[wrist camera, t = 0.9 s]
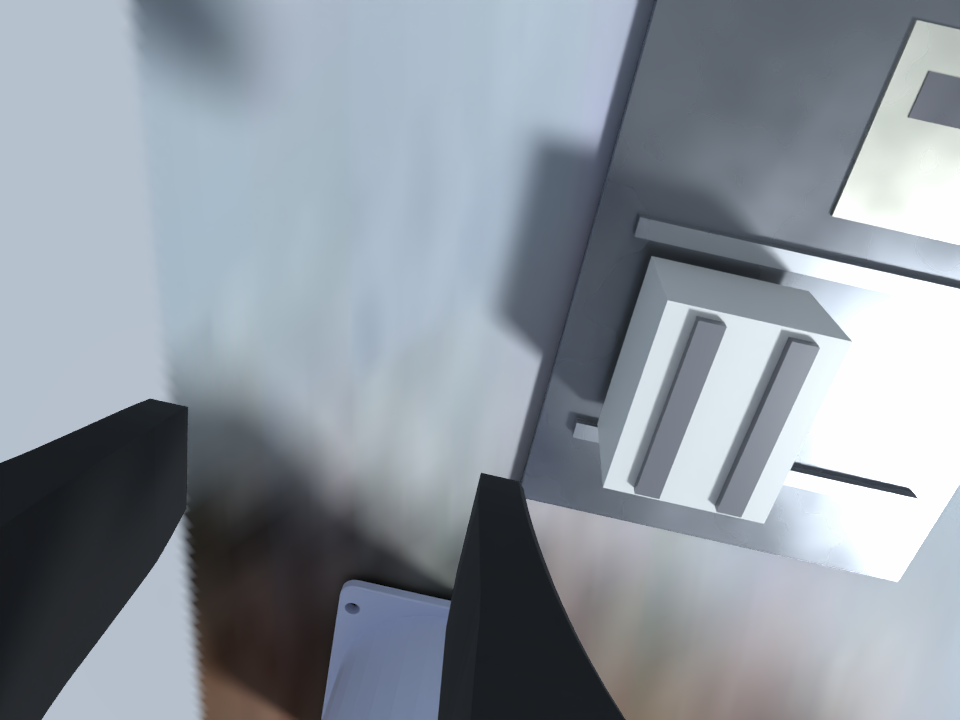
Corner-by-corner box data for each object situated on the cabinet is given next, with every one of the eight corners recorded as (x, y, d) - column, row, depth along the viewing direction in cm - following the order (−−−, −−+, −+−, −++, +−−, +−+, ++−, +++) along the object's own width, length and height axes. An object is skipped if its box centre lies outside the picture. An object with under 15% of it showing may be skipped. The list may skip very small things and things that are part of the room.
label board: (892, 572, 23) (902, 589, 22) (519, 488, 23) (518, 502, 22) (1232, 20, 15) (1260, 21, 15) (684, -103, 15) (689, -108, 15)
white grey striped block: (736, 454, 20) (766, 530, 17) (597, 423, 20) (603, 494, 17) (808, 291, 18) (857, 346, 15) (651, 256, 18) (669, 304, 15)
